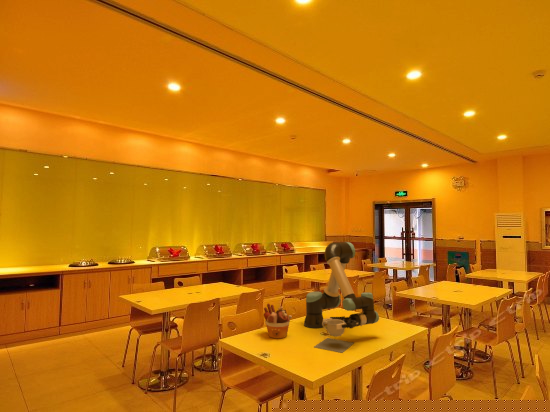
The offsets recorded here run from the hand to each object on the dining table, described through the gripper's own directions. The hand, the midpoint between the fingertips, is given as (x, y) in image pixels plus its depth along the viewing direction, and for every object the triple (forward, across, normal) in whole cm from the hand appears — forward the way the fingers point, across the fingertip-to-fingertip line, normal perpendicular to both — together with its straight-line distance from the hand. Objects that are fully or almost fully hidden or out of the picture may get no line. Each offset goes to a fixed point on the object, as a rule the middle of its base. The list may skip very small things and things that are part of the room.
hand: (329, 324), depth 203 cm
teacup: (-3, 0, -7) cm, 7 cm away
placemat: (-3, 0, -13) cm, 13 cm away
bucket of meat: (+19, +33, -13) cm, 40 cm away
